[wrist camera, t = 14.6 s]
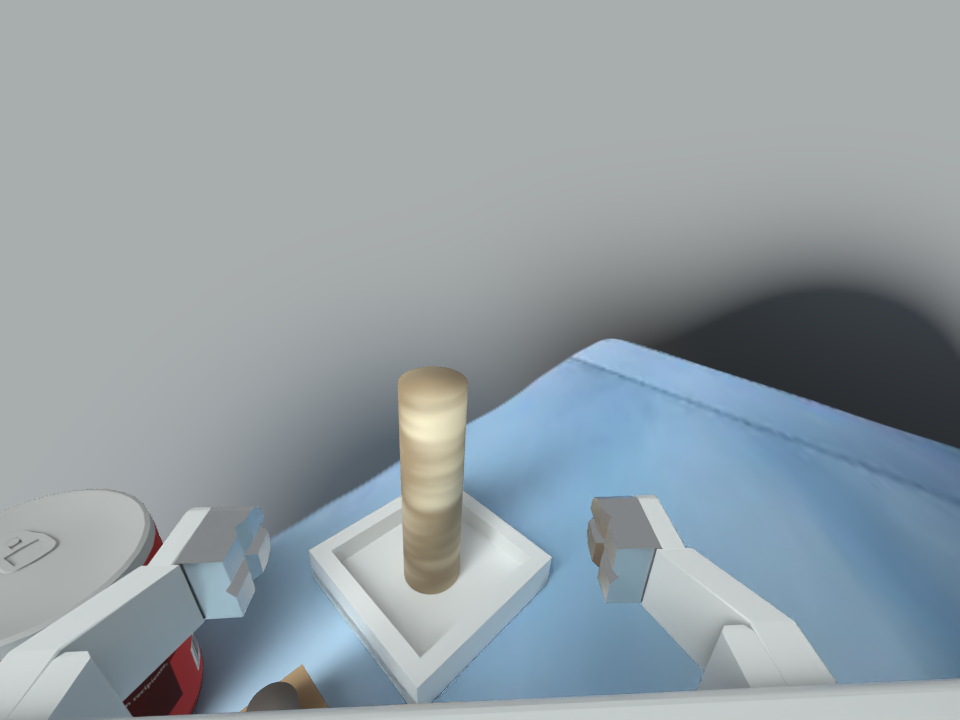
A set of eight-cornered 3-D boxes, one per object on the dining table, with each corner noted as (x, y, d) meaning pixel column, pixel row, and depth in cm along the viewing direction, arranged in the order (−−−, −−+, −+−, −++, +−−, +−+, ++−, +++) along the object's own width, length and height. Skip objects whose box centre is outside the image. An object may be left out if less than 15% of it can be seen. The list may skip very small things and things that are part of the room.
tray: (547, 583, 30) (551, 557, 28) (417, 716, 22) (417, 688, 21) (439, 496, 36) (440, 472, 35) (313, 577, 29) (308, 550, 28)
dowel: (470, 570, 29) (482, 383, 23) (428, 605, 27) (428, 408, 21) (434, 538, 31) (436, 360, 25) (392, 568, 29) (383, 380, 23)
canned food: (117, 621, 26) (47, 474, 21) (241, 651, 25) (196, 503, 20) (-45, 790, 19) (-205, 630, 14) (116, 842, 18) (2, 687, 13)
